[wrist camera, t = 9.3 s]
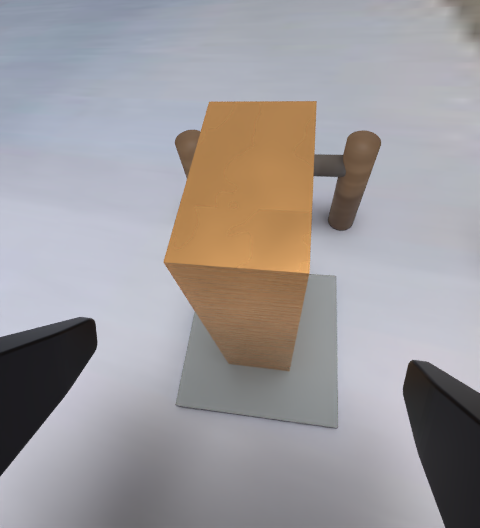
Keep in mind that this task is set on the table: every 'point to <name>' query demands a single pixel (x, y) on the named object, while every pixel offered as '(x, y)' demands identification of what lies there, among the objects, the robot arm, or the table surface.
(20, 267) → the table surface
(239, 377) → the grey mat
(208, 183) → the orange c-shaped block
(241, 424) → the table surface
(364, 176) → the rail stand
